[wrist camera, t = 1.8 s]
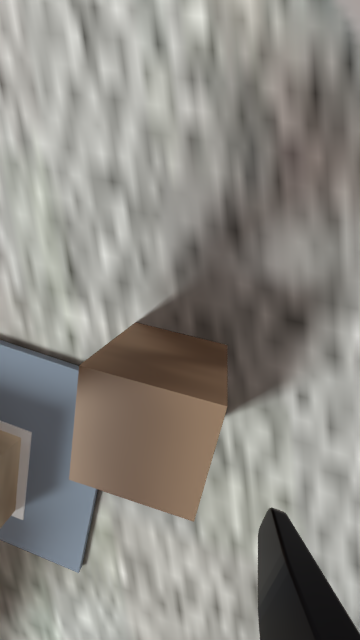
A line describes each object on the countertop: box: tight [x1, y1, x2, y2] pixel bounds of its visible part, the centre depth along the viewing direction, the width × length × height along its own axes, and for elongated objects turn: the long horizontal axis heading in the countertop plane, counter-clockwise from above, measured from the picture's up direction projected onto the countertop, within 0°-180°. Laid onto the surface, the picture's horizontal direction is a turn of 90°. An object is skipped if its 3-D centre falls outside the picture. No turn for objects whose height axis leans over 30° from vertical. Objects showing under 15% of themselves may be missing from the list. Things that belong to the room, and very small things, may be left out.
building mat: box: [0, 340, 98, 573], centre depth 16 cm, size 13×15×1 cm
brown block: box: [69, 322, 227, 521], centre depth 10 cm, size 4×4×5 cm
